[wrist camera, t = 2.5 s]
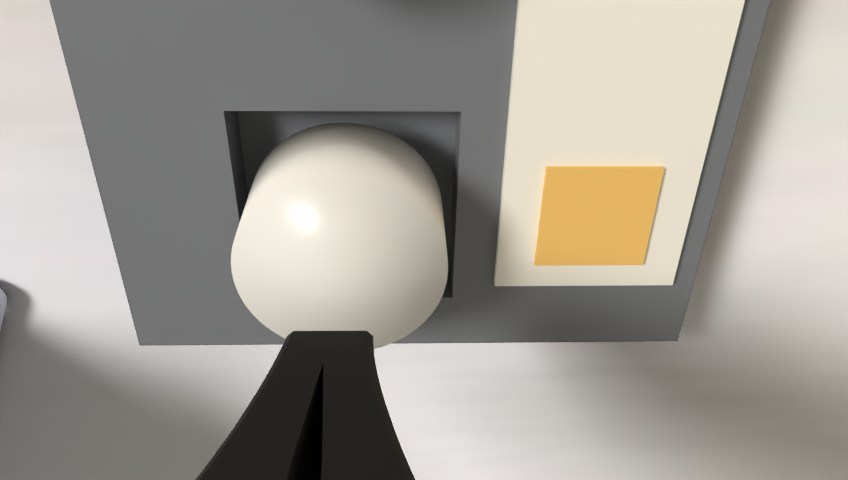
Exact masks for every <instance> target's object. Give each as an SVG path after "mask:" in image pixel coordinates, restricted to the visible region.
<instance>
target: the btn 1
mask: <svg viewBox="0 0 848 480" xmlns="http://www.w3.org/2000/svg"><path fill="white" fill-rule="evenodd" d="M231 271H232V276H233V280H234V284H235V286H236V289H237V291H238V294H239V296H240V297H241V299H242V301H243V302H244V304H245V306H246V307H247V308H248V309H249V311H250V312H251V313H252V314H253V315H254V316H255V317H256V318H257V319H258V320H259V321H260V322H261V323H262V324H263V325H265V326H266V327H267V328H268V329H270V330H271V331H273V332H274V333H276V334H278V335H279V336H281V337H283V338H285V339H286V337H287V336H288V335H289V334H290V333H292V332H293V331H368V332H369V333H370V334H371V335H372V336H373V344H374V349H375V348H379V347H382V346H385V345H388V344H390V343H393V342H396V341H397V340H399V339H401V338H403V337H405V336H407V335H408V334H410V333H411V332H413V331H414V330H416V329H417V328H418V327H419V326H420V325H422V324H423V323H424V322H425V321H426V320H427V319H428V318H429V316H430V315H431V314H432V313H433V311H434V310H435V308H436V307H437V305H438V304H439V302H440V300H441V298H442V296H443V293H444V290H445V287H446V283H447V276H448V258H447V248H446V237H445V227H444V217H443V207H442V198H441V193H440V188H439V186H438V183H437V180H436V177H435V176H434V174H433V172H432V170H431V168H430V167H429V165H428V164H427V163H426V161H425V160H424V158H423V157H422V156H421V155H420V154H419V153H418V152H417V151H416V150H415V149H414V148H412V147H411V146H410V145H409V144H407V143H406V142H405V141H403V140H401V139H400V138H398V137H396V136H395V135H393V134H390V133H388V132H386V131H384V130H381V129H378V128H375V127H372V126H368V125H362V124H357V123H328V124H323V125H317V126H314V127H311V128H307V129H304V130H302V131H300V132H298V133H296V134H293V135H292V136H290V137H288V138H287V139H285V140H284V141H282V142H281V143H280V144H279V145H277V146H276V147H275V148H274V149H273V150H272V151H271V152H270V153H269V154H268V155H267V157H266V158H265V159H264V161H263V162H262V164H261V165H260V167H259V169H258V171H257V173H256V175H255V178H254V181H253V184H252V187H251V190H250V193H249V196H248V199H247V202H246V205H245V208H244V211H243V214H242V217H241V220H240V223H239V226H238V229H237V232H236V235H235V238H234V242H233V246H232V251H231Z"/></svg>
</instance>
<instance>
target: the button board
mask: <svg viewBox="0 0 848 480" xmlns="http://www.w3.org/2000/svg"><path fill="white" fill-rule="evenodd" d="M50 4H51V8H52V12H53V16H54V20H55V23H56V27H57V31H58V35H59V39H60V43H61V46H62V50H63V54H64V58H65V62H66V65H67V69H68V73H69V77H70V81H71V85H72V88H73V92H74V96H75V100H76V104H77V108H78V111H79V115H80V119H81V123H82V127H83V131H84V134H85V138H86V142H87V146H88V150H89V153H90V157H91V161H92V165H93V169H94V173H95V176H96V180H97V184H98V188H99V192H100V196H101V199H102V203H103V207H104V211H105V215H106V219H107V222H108V226H109V230H110V234H111V238H112V241H113V245H114V249H115V253H116V257H117V261H118V264H119V268H120V272H121V276H122V280H123V284H124V287H125V291H126V295H127V299H128V303H129V306H130V310H131V314H132V318H133V322H134V326H135V329H136V333H137V337H138V341H139V345H259V344H284V342H285V340H286V339H285V338H283V337H281V336H279V335H278V334H276V333H274V332H273V331H271V330H270V329H268V328H267V327H266V326H265V325H263V324H262V323H261V322H260V321H259V320H258V319H257V318H256V317H255V316H254V315H253V314H252V313H251V312H250V311H249V309H248V308H247V307H246V306H245V304H244V302H243V301H242V299H241V297H240V296H239V294H238V291H237V289H236V286H235V284H234V280H233V276H232V271H231V251H232V246H233V242H234V238H235V235H236V232H237V229H238V226H239V223H240V220H241V217H242V214H243V211H244V208H245V205H246V202H247V199H248V196H249V193H250V190H251V187H252V184H253V181H254V178H255V175H256V173H257V171H258V169H259V167H260V165H261V164H262V162H263V161H264V159H265V158H266V157H267V155H268V154H269V153H270V152H271V151H272V150H273V149H274V148H275V147H276V146H277V145H279V144H280V143H281V142H282V141H284V140H285V139H287V138H288V137H290V136H292V135H293V134H296V133H298V132H300V131H302V130H304V129H307V128H311V127H314V126H317V125H323V124H328V123H357V124H362V125H368V126H372V127H375V128H378V129H381V130H384V131H386V132H388V133H390V134H393V135H395V136H396V137H398V138H400V139H401V140H403V141H405V142H406V143H407V144H409V145H410V146H411V147H412V148H414V149H415V150H416V151H417V152H418V153H419V154H420V155H421V156H422V157H423V158H424V160H425V161H426V163H427V164H428V165H429V167H430V168H431V170H432V172H433V174H434V176H435V177H436V180H437V183H438V186H439V188H440V193H441V198H442V207H443V217H444V227H445V237H446V248H447V258H448V276H447V283H446V287H445V290H444V293H443V296H442V298H441V300H440V302H439V304H438V305H437V307H436V308H435V310H434V311H433V313H432V314H431V315H430V316H429V318H428V319H427V320H426V321H425V322H424V323H423V324H422V325H420V326H419V327H418V328H417V329H416V330H414V331H413V332H411V333H410V334H408V335H407V336H405V337H403V338H401V339H399V340H397V341H396V342H393V343H505V342H627V341H678V337H679V333H680V330H681V326H682V322H683V319H684V315H685V311H686V308H687V304H688V300H689V297H690V293H691V289H692V286H693V282H694V278H695V275H696V271H697V267H698V264H699V260H700V256H701V253H702V249H703V245H704V242H705V238H706V234H707V231H708V227H709V223H710V220H711V216H712V212H713V209H714V205H715V201H716V198H717V194H718V190H719V187H720V183H721V179H722V176H723V172H724V168H725V165H726V161H727V157H728V154H729V150H730V146H731V143H732V139H733V135H734V132H735V128H736V124H737V121H738V117H739V113H740V110H741V106H742V102H743V99H744V95H745V92H746V88H747V84H748V81H749V77H750V73H751V70H752V66H753V62H754V59H755V55H756V51H757V48H758V44H759V40H760V37H761V33H762V29H763V26H764V22H765V18H766V15H767V11H768V7H769V4H770V0H50Z"/></svg>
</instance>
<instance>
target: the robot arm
mask: <svg viewBox="0 0 848 480" xmlns="http://www.w3.org/2000/svg"><path fill="white" fill-rule="evenodd" d="M6 304H7V296H6V294H5V293H4V291H3V290H2V289H1V288H0V331H1V326H2V322H3V318H4V313H5V309H6ZM196 480H415V478H414V476H413V474H412V472H411V470H410V467H409V465H408V463H407V460H406V458H405V456H404V453H403V451H402V449H401V446H400V443H399V441H398V438H397V436H396V433H395V430H394V427H393V425H392V422H391V419H390V416H389V413H388V410H387V407H386V404H385V401H384V398H383V394H382V391H381V387H380V383H379V379H378V375H377V370H376V365H375V359H374V344H373V336H372V335H371V334H370V333H369V332H368V331H293V332H292V333H290V334H289V335H288V336H287V337H286V340H285V342H284V344H283V346H282V348H281V350H280V352H279V354H278V356H277V358H276V360H275V362H274V364H273V365H272V367H271V369H270V371H269V373H268V374H267V376H266V378H265V380H264V381H263V383H262V385H261V386H260V388H259V390H258V391H257V393H256V395H255V396H254V398H253V399H252V401H251V402H250V404H249V405H248V407H247V409H246V410H245V412H244V413H243V415H242V416H241V418H240V419H239V421H238V423H237V424H236V426H235V427H234V429H233V430H232V431H231V433H230V434H229V436H228V437H227V438H226V440H225V441H224V442H223V444H222V445H221V447H220V448H219V449H218V451H217V452H216V453H215V455H214V456H213V458H212V459H211V460H210V462H209V463H208V464H207V466H206V467H205V468H204V470H203V471H202V472H201V474H200V475H199V476H198V477H197V479H196Z"/></svg>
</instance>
